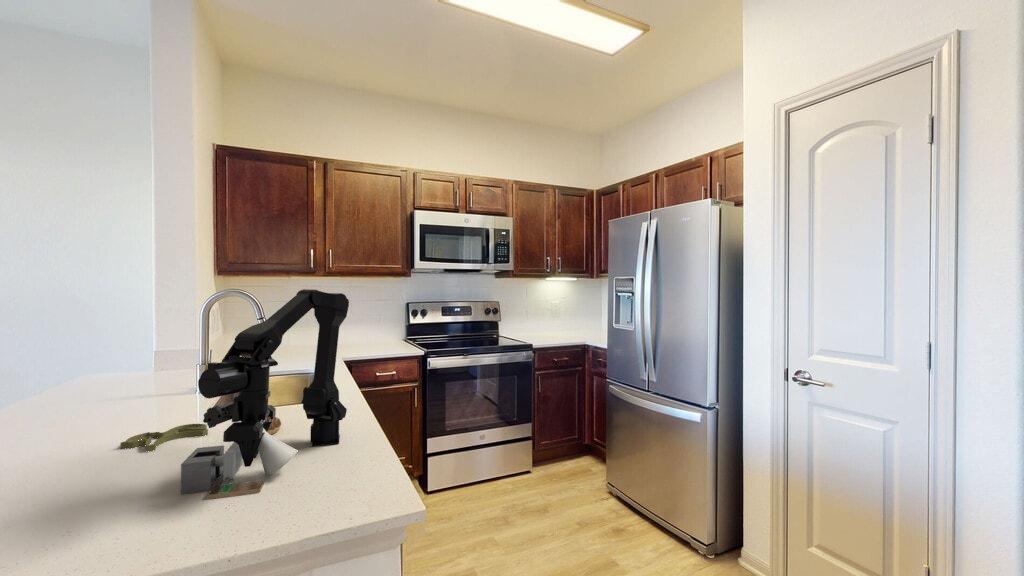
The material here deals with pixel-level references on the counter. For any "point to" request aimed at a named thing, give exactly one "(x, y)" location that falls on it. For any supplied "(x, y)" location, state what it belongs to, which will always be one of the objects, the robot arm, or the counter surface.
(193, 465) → the gauge housing
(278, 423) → the donut
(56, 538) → the counter surface
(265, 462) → the flask
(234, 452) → the gauge plunger
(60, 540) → the counter surface
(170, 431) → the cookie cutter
